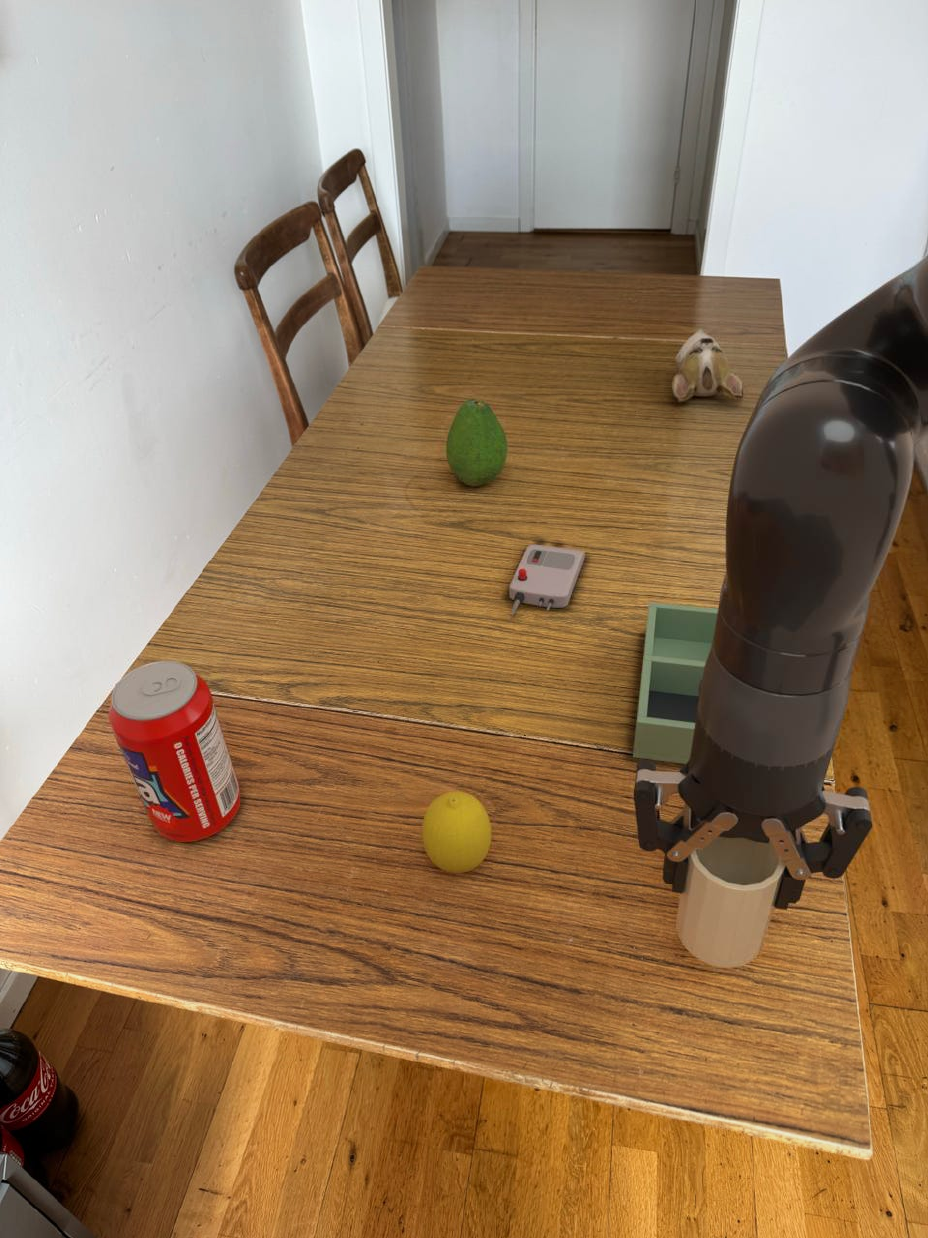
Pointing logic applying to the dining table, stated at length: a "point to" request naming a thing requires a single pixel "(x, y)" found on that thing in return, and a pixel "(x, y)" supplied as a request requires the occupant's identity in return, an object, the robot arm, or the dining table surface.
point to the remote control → (545, 576)
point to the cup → (728, 900)
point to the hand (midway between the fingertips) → (728, 889)
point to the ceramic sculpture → (704, 371)
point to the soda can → (175, 750)
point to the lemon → (456, 832)
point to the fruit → (476, 444)
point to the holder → (672, 679)
